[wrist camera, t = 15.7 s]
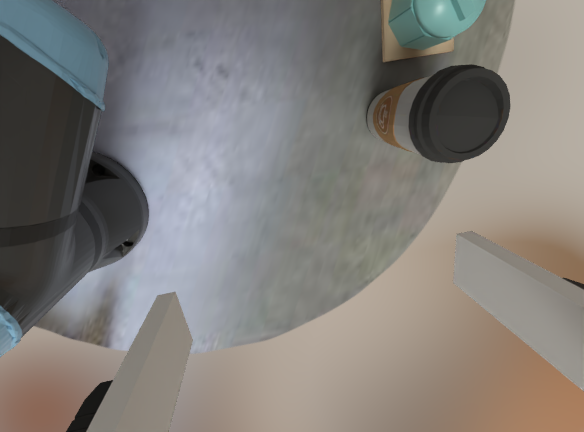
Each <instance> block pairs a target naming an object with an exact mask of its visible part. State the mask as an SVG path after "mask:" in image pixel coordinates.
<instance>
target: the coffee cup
mask: <svg viewBox="0 0 584 432" xmlns="http://www.w3.org/2000/svg"><path fill="white" fill-rule="evenodd" d="M509 111H510V95H509V92H508V89H507V86H506V84H505V82H504V81H503V80H502V78H501V77H500V76H499V75H498V74H496V73H495V72H493V71H492V70H488V69H485V68H484V67H481V66H477V65H458V66H450V67H448V68H445V69H442V70H440V71H438V72H437V73H436V74H434V75H431V76H428V77H425V78H420V79H417V80H414V81H411V82H408V83H405V84H403V85H400V86H397V87H395V88H392V89H390V90H387V91H385V92H382V93H381V94H379V95H378V96H377V97H376V98H375V99H374V100H373V101H372V103H371V105H370V107H369V109H368V114H367V124H368V128H369V130H370V132H371V133H372V134H373V135H374V136H375V137H376V138H377V139H379V140H382V141H384V142H387V143H389V144H391V145H393V146H396V147H399V148H401V149H404V150H407V151H410V152H415V153H418V154H420V155H422V156H423V157H425V158H427V159H429V160H431V161H435V162H441V163H442V162H446V163H455V162H462V161H464V160H467V159H471V158H474V157H476V156H479V155H481V154H482V153H483V152H485V151H486V150H488V149H489V148H490V147H491V146H492V145H493V144H494V143H495V142H496V141H497V140H498V138H499V136H500V135H501V133H502V132H503V130H504V128H505V125H506V123H507V120H508V117H509Z"/></svg>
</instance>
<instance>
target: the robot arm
mask: <svg viewBox="0 0 584 432" xmlns="http://www.w3.org/2000/svg"><path fill="white" fill-rule="evenodd" d="M108 65H109V60H108V54H107V51H106V49H105V47H104V45H103V43H102V42H101V40H100V39H99V37H98V36H97V35H96V34H95V33H94V32H93V31H92V30H91V29H90V28H89V27H88V26H87V25H85V24H84V23H83V22H82V21H80V20H79V19H78V18H76V17H75V16H74V15H72V14H71V13H70V12H68V11H67V10H65V9H64V8H63V7H61V6H60V5H58V4H57V3H55V2H54V1H52V0H0V357H1V356H2V355H4V354H5V353H6V352H7V351H9V350H11V349H12V348H14V347H15V346H16V345H17V344H18V343H19V342H20V339H21V338H22V337H23V336H24V334H26V332H28V331H29V330H30V329H31V328H32V327H33V326H34V325H35V324H36V323H37V322H38V321H39V320H40V319H41V318H42V317H43V316H44V315H45V314H46V313H47V312H48V311H49V310H50V309H51V308H52V307H53V306H54V305H55V304H56V303H57V302H58V301H59V300H60V299H61V298H62V297H63V296H64V295H65V294H66V293H68V292H69V291H70V290H71V289H72V288H73V287H74V286H75V285H76V284H77V283H78V282H79V281H80V280H81V279H82V278H83V277H84V276H85V275H86V274H87V273H88V272H90V271H93V270H96V269H99V268H101V267H104V266H107V265H109V264H112V263H114V262H116V261H118V260H120V259H121V258H123V257H124V256H126V255H127V254H128V253H129V252H130V251H131V250H132V249H133V248H134V247H135V246H136V245H137V244H138V243H139V241H140V240H141V239H142V237H143V235H144V233H145V231H146V228H147V224H148V205H147V201H146V198H145V196H144V193H143V191H142V189H141V187H140V186H139V184H138V183H137V181H136V180H135V179H134V178H133V176H132V175H131V174H130V173H129V172H128V171H127V170H126V169H124V168H123V167H122V166H121V165H119V164H118V163H116V162H115V161H113V160H111V159H110V158H108V157H106V156H103V155H101V154H98V153H96V152H92V151H93V146H94V142H95V137H96V133H97V129H98V124H99V120H100V116H101V111H104V110H105V104H104V102H103V96H104V90H105V84H106V78H107V72H108ZM453 283H454V284H455V285H457V286H458V287H459V288H460V289H461V290H463V291H464V292H465V293H466V294H467V295H468V296H470V297H471V298H472V299H473V300H474V301H476V302H477V303H478V304H479V305H480V306H482V307H483V308H484V309H485V310H487V311H488V312H489V313H490V314H491V315H493V316H494V317H495V318H496V319H497V320H499V321H500V322H501V323H502V324H503V325H505V326H506V327H507V328H508V329H509V330H511V331H512V332H513V333H514V334H515V335H517V336H518V337H519V338H520V339H521V340H523V341H524V342H525V343H526V344H528V345H529V346H530V347H531V348H532V349H533V350H535V351H536V352H537V353H538V354H539V355H541V356H542V357H543V358H544V359H545V360H547V361H548V362H549V363H550V364H551V365H553V366H554V367H555V368H556V369H557V370H559V371H560V372H561V373H562V374H563V375H565V376H566V377H567V378H568V379H570V380H571V381H572V382H573V383H574V384H576V385H577V386H578V387H579V388H580V389H582V390H583V391H584V284H581V283H579V282H575V281H572V280H569V279H566V278H561V277H559V276H557V275H555V274H553V273H551V272H549V271H547V270H545V269H543V268H541V267H540V266H538V265H536V264H534V263H532V262H530V261H528V260H526V259H524V258H522V257H520V256H519V255H517V254H515V253H513V252H511V251H509V250H507V249H505V248H503V247H501V246H499V245H498V244H496V243H493V242H492V241H490V240H488V239H486V238H484V237H482V236H481V235H478V234H477V233H475V232H473V231H469V232H464V233H459V234H457V236H456V251H455V266H454V281H453ZM192 341H193V339H192V336H191V334H190V331H189V328H188V325H187V323H186V320H185V317H184V314H183V311H182V309H181V306H180V303H179V300H178V298H177V295H176V292H172V293H167V294H162V295H158V296H157V298H156V300H155V301H154V303H153V305H152V307H151V309H150V311H149V313H148V315H147V317H146V319H145V320H144V322H143V324H142V326H141V328H140V330H139V332H138V334H137V336H136V338H135V340H134V341H133V343H132V345H131V347H130V349H129V351H128V353H127V355H126V357H125V359H124V361H123V362H122V364H121V366H120V368H119V370H118V372H117V374H116V376H115V378H114V380H111V381H106V382H102V383H100V384H99V385H98V386H97V387H96V388H95V389H94V390H93V391H92V392H91V394H90V395H89V396H88V397H87V398H86V399H85V400H84V402H83V404H82V406H81V407H80V409H79V411H78V413H77V414H76V416H75V420H73V421H72V423H71V424H70V426H69V428H68V429H67V431H66V432H169V429H170V425H171V421H172V417H173V413H174V410H175V406H176V402H177V398H178V394H179V391H180V387H181V383H182V379H183V376H184V372H185V368H186V364H187V360H188V356H189V353H190V349H191V345H192Z"/></svg>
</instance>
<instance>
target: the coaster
mask: <svg viewBox="0 0 584 432" xmlns="http://www.w3.org/2000/svg"><path fill="white" fill-rule="evenodd" d="M391 3H392V0H381V21H382V53H383V62H388V61H395V60H401V59H407V58H414V57H420V56H427V55H433V54H440V53H446V52H451V51H453V48H454V37H453V38H452V39H451V40H448V41H446V42H443V43H441V44H438V45H435V46H433V47H430V48H427V49H425V50H418V49H412V48H406V47H401V46H400V45H399V43H398V41H397V39H396V37H395V35H394V34H393V32H392V30H391V28H390V26H389V24H388V23H389V22H388V19H389V14H390V8H391Z"/></svg>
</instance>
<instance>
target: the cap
mask: <svg viewBox="0 0 584 432" xmlns="http://www.w3.org/2000/svg"><path fill="white" fill-rule="evenodd" d="M485 2H486V0H392V3H391V8H390V14H389V19H388V22H389V23H388V24H389V26H390V28H391V30H392V32H393V34H394V35H395V37H396V39H397V41H398V43H399V45H400V46H401V47H406V48H412V49H418V50H425V49H427V48H430V47H433V46H435V45H438V44H441V43H443V42H446V41H448V40H451V39H452V38H453V37H455V36H456V35H457V34H459V33H461V32H463V31H465V30H466V29H467V28H469V27H470V26H471V25H472V24H473V23H474V22H475V21H476V19H477V18H478V16H479V15H480V13H481V11H482V10H483V7H484V5H485Z"/></svg>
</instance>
